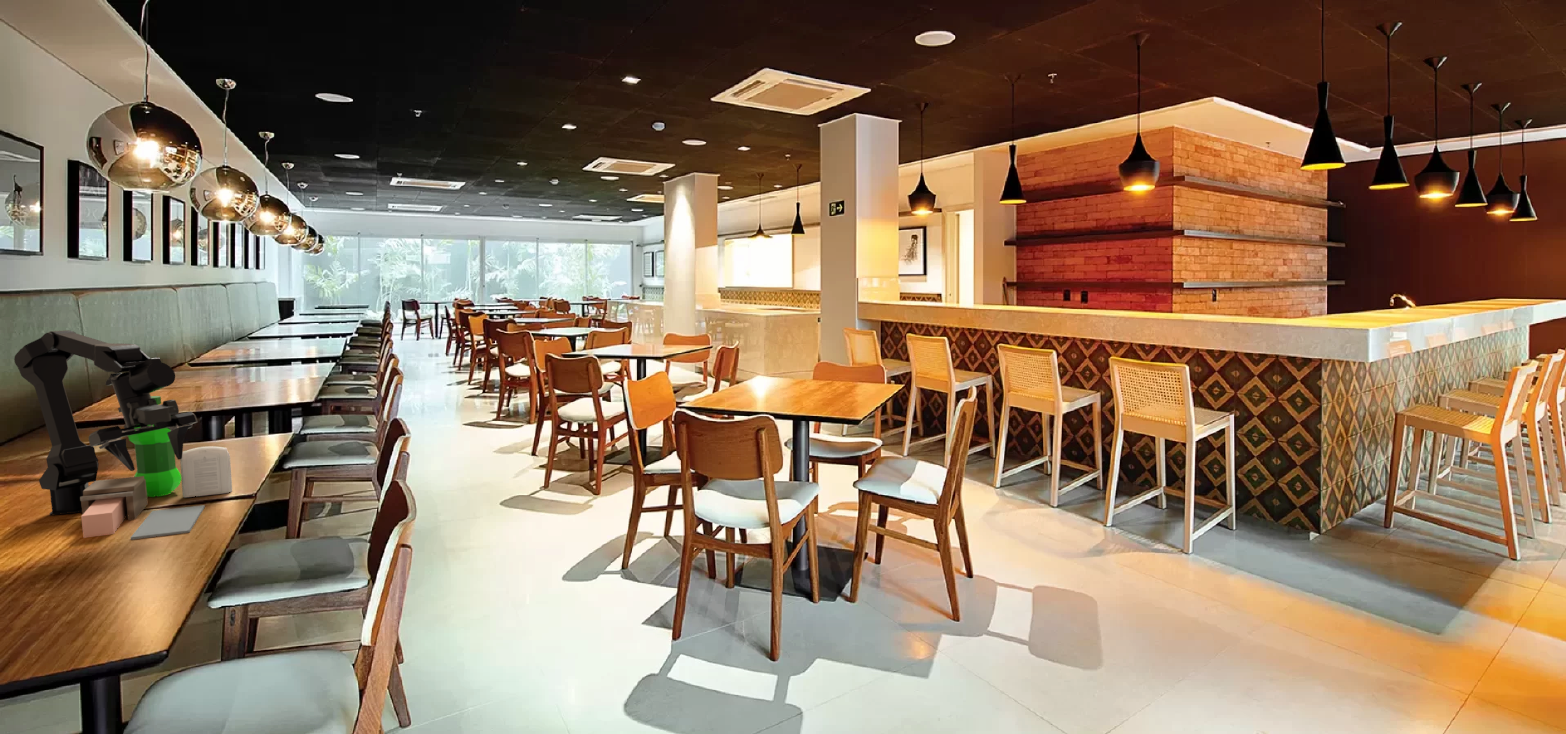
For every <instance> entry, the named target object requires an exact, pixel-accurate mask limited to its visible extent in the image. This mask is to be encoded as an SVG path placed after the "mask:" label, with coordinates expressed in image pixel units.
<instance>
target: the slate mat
mask: <svg viewBox="0 0 1566 734" xmlns="http://www.w3.org/2000/svg"><path fill="white" fill-rule="evenodd" d="M205 507H206V506H205V504H202V505H193V506H186V507H185V506H184V507H183V506H182V507H176V508H175V507H174V508H167V509H166V508H165V509H157V510H152V511H151V512H150V513H149V514H148V515H147V516H146V517H145V519H144V520H143V521H142V523H141V524H140V525H139V527H138V528H137V529H136V530H135V531H134V532H133V534H132V535H131V536H130V540H138V539H147V538H155V537H156V536H157V537H162V536H163V537H164V536H172V535H177V534H179V535H180V534H188V533H191V531H192V529H193V528H194V526H195V524H196V523H197V521H198V519H199V518H200V516H201V514H202V513H203V511H204V509H205Z"/></svg>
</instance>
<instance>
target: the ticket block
mask: <svg viewBox="0 0 1566 734" xmlns="http://www.w3.org/2000/svg"><path fill="white" fill-rule="evenodd" d="M127 514H128V513H127V503H126V497H117V498H108V499H98V500H95V501H94V502H93V504H92V505H91V506H90V507H89V508H88V509H87V510H86V511H85V513H84V514H83V515H80V516H81V526H82V527H81V528H82V536H83V538H91V537H99V536H100V537H101V536H106V535H107V536H109V535H114V534H115V533H116V532H117V531H118V529H119V527H120V526H121V525H120V524H122V523H123V522H124V520H125V519H126V517H128V515H127ZM124 518H125V519H124ZM121 522H122V523H121ZM117 528H118V529H117ZM115 531H116V532H115Z"/></svg>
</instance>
